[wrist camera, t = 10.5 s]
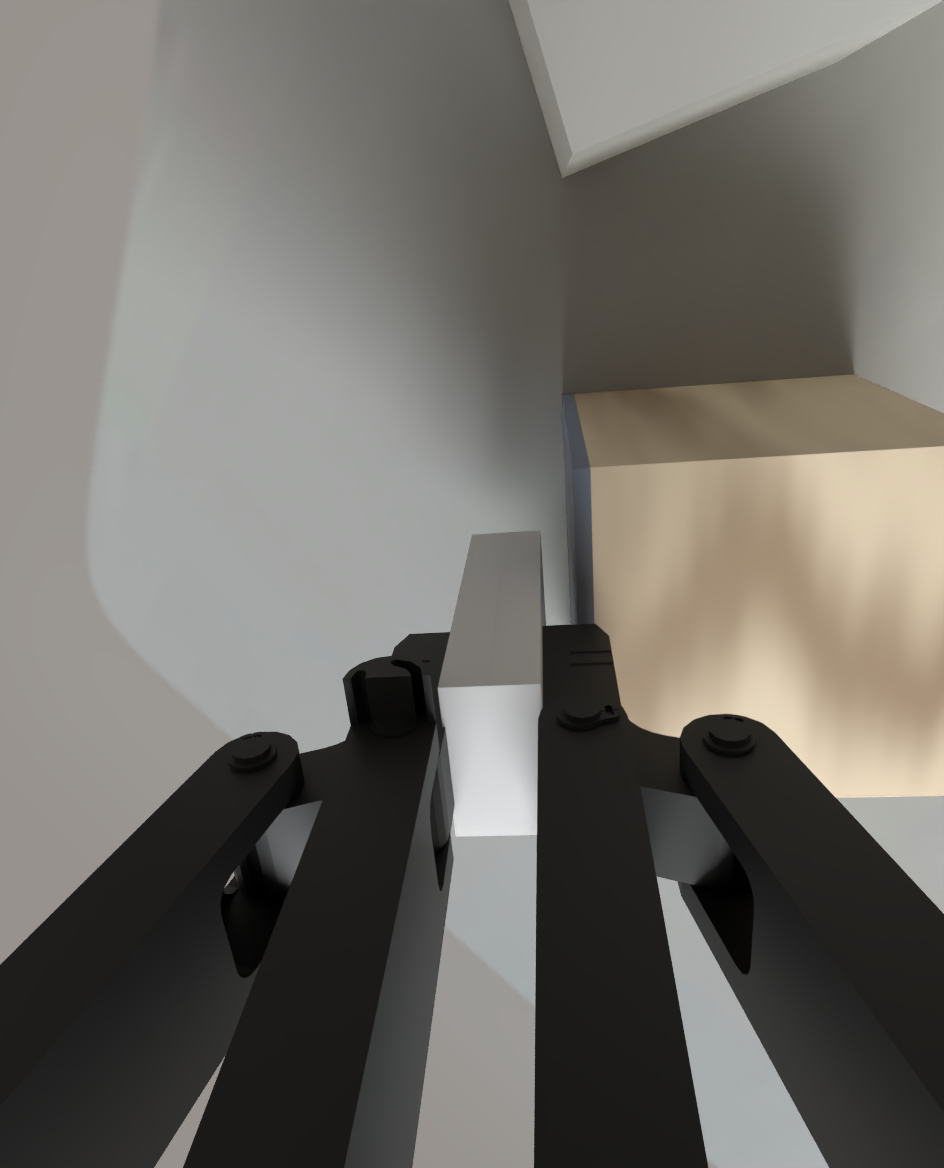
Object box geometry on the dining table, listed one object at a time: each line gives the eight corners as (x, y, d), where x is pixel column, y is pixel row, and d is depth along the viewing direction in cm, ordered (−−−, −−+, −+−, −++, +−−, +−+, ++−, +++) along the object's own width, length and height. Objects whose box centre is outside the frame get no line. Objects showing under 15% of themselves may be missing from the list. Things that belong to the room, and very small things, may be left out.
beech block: (572, 468, 14) (1009, 442, 13) (562, 394, 20) (854, 374, 19) (584, 801, 16) (945, 796, 16) (571, 643, 23) (827, 633, 22)
